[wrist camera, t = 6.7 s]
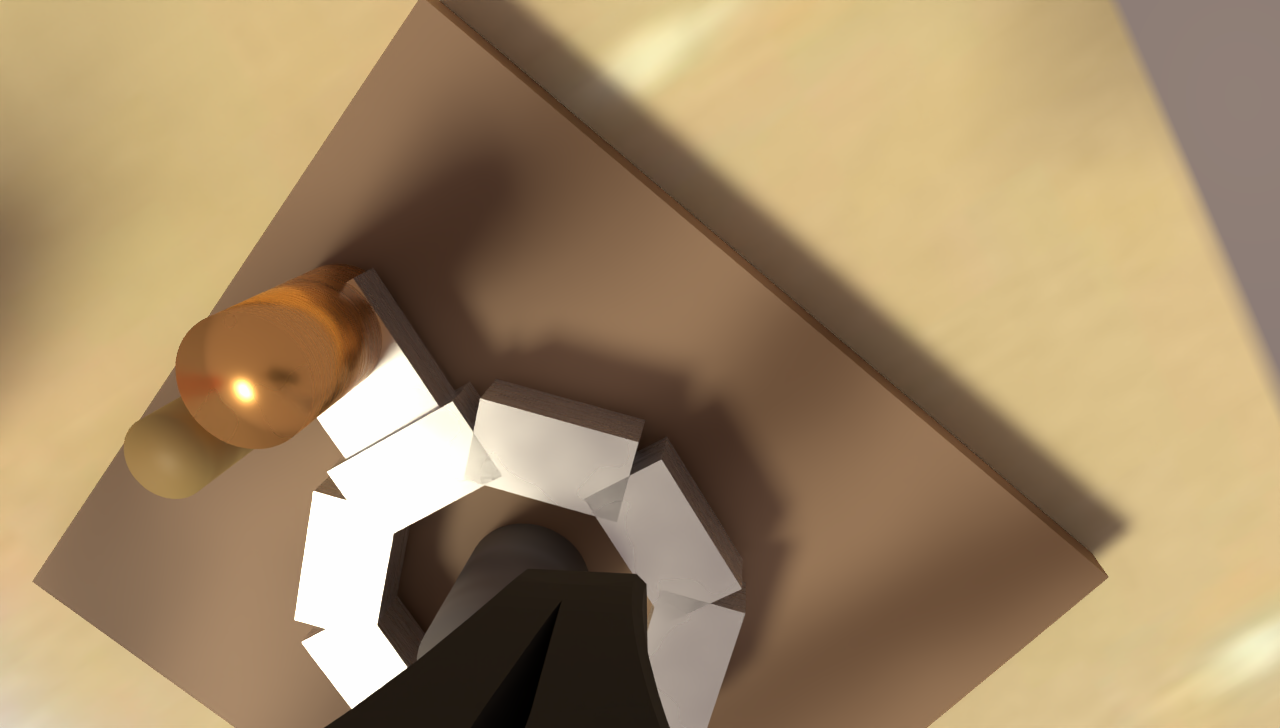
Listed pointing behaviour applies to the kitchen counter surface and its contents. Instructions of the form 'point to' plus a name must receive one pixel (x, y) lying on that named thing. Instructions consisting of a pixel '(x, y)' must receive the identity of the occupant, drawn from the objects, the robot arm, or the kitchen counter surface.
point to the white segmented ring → (449, 476)
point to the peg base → (585, 372)
